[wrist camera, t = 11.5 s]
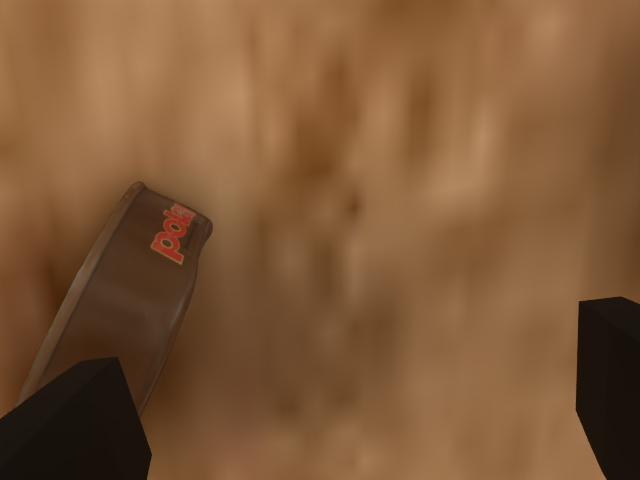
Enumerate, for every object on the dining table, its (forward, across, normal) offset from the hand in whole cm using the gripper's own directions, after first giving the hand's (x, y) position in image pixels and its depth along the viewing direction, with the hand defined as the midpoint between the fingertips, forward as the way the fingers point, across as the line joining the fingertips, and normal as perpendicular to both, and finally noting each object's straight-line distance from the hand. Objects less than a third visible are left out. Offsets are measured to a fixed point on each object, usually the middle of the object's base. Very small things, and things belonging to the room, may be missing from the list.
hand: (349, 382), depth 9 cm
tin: (+11, +9, +5) cm, 15 cm away
